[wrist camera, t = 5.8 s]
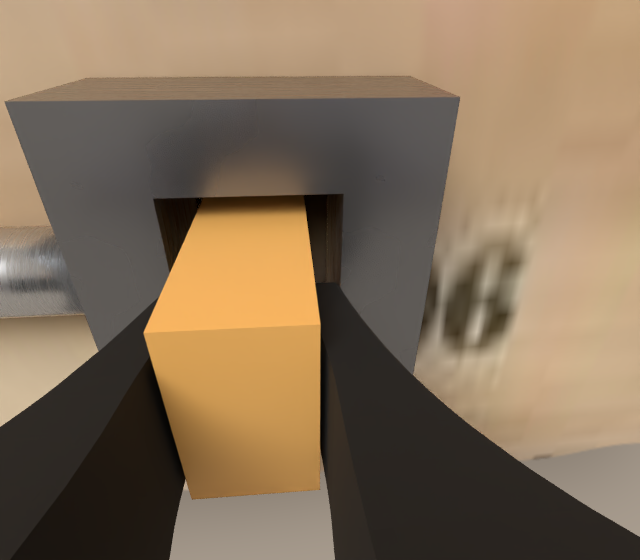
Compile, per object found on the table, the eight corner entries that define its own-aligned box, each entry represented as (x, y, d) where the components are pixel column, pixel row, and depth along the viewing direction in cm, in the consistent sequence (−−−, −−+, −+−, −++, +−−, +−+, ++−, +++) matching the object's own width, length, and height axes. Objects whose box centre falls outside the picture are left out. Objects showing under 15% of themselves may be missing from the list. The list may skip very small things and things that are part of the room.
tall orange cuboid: (300, 170, 12) (320, 324, 6) (302, 288, 14) (320, 489, 8) (214, 172, 11) (143, 333, 6) (230, 291, 14) (192, 499, 8)
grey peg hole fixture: (410, 76, 10) (460, 97, 8) (381, 344, 15) (405, 421, 12) (-275, 80, 9) (-528, 106, 6) (-75, 367, 14) (-168, 458, 11)
